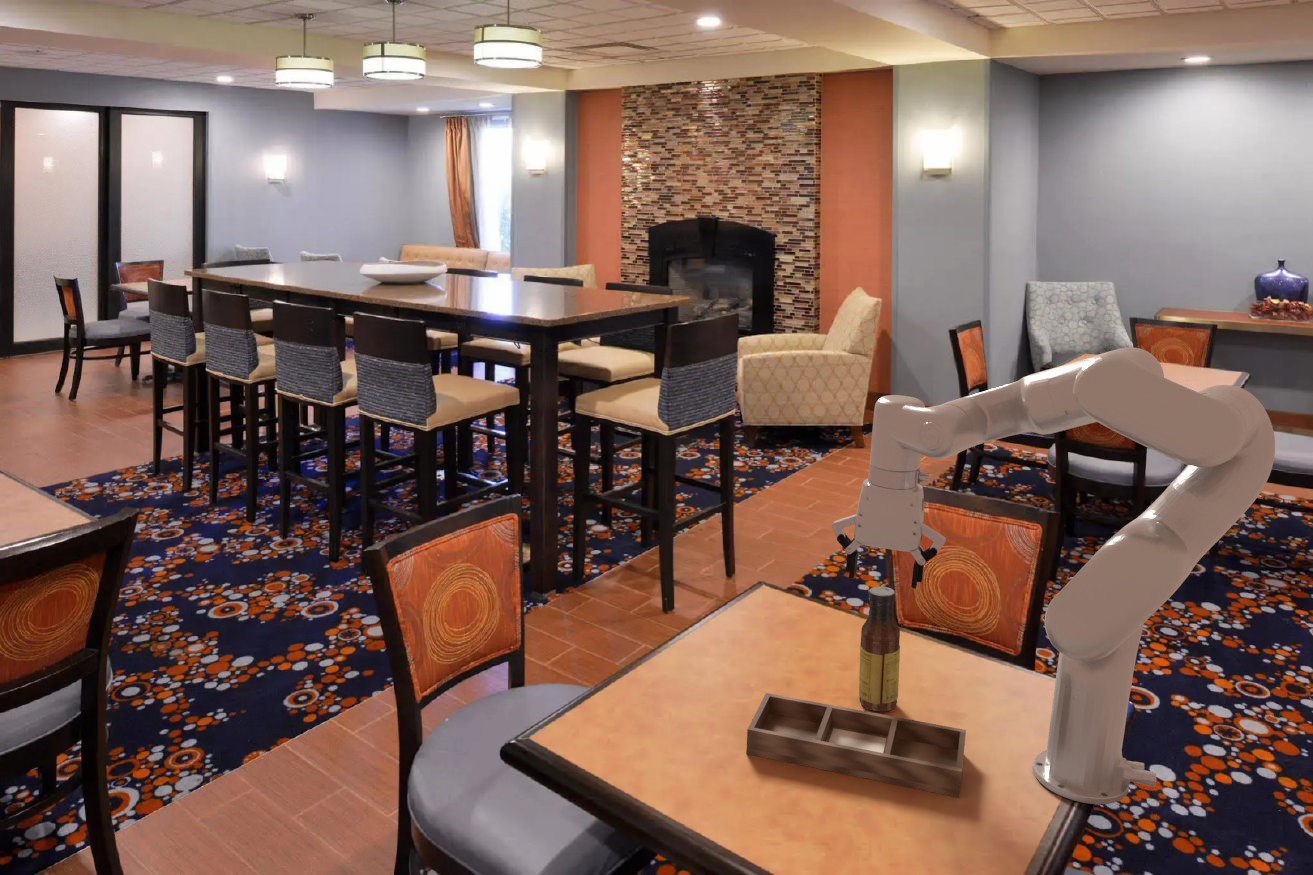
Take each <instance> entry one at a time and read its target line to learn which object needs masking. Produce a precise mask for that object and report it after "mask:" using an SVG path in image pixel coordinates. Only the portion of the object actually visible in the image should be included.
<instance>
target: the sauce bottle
mask: <svg viewBox="0 0 1313 875" xmlns="http://www.w3.org/2000/svg"><path fill="white" fill-rule="evenodd" d="M868 599H869V608H868V609H869V610H868V616H867V618H866V620H865V622H863V625H862V626H861V631H860V632H861V634H860V644H859V669H858V671H859V675H858V676H859V677H858V679H859V680H858V681H859V682H858V695H859V698H858V699H859V702H860V705H861V706H862V707H863V708H865V709H867V711H873V712H876V713H877V712H878V713H887V712H890V711H891V712H892V711H893V710H895V708H896V707H897V705H898V698H899V686H900V684H899V682H900V680H899V679H900V661H901V660H900V659H901V658H900V657H901V656H900V654H901V645H900V641H901V640H900V639H901V629H900V627H899V625H898V623H897V621H896V619H895V617H894V615H895V614H894V605H895V604H894V602H895V601H896V591H895V589H893V588H892V587H887V586H874V587H871V588H870V589H869V591H868Z"/></svg>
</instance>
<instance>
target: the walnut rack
mask: <svg viewBox="0 0 1313 875" xmlns="http://www.w3.org/2000/svg"><path fill="white" fill-rule="evenodd" d="M746 731H747V732H746V755H751V756H756V757H761V758H766V759H769V760H770V759H771V760H776V761H780V762H784V763H788V764H789V763H790V764H795V765H800V766H805V767H808V768H814V769H819V770H824V771H829V772H833V773H837V774H843V775H849V776H853V777H858V778H862V779H867V780H873V781H877V782H881V783H886V784H891V785H896V786H900V787H907V788H910V789H915V790H921V791H926V792H930V793H936V794H941V795H944V796H949V797H954V798H960V795H961V794H960V793H961V785H962V775H963V765H964V764H963V763H964V755H965V745H966V744H965V743H966V736H967V730H966V729H964V728H963V729H962V728H957V727H953V726H946V725H941V724H937V723H932V722H931V723H930V722H927V721H926V722H924V721H919V720H915V719H909V718H904V717H898V716H893V715H887V714H883V713H882V714H881V713H877V712H871V711H866V710H860V709H854V708H849V707H845V706H844V707H843V706H840V705H838V706H837V705H834V704H833V705H832V704H828V703H827V704H826V703H823V702H817V701H811V700H806V699H802V698H801V699H800V698H796V697H795V698H794V697H789V696H785V695H784V696H783V695H778V694H773V693H768V692H765V694H764V696H763V698H762V700H761V702H760V703H759V706H758V708H757V710H756V711H755V713H754V715H753V718H752V720H751V721H750V724H749V725H748V727H747V730H746Z"/></svg>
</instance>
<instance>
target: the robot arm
mask: <svg viewBox="0 0 1313 875" xmlns="http://www.w3.org/2000/svg"><path fill="white" fill-rule="evenodd" d="M872 420H873V421H872V432H871V441H870V442H871V443H870V454H869V455H870V456H869V464H868V475H867V476H868V477H867V478H865V479H864V480H863V482H862V486H861V488H860V494H859V496H858V497H859V498H858V503H857V508H856V513H855V514H852V515H849V516H846V517H843V518H840V519H837V520H834V521H833V523H832V524H831V528H832V530H833V532H834V533H833V534H834V535H835V537H836V540H837V542H838V543H839V545H840V546H841V547H842V548H843V549H844V551H845V553H846V564H845V571H848V578H849V579H855V576H856V575H857V567H858V556H859V550H858V548H860V547H861V546H868V547H872V548H879V549H885V550H886V549H887V550H893V551H899V552H908V553H910V554H911V555H912V557H913V558H914V563H913V569H912V577H911V585H910V586H911V588H912V589H914V590H916V589H917V587H918V586H917V585H918V583H922V582H923V578H924V577H923V575H924V566H925V564H926V563H927V562H929V561H930V560H932V559H933V558H934V557H936V556H937V555H938V553H939V551H940V550H941V548H943V546H944V545H945V543H946V540H947V539H946V537H945V536H944V535H942V534H941V533H939V532H937V531H936V530H934V529H933V528H932V527H930V526H929V525H927V524H925V523H924V515H925V514H924V513H925V498H924V495H925V494H924V487H923V486H922V485H921V484H920V483H923V482H925V483H928V482H929V477H930V476H929V475H930V473H926V472H924V471H922V469H921V458H922V456H925V457H927V458H931V459H934V460H935V459H936V460H942V459H943V460H944V459H947V458H950V457H953V456H955V455H957V454H959V453H961V452H963V451H965V450H967V449H968V450H969V449H970V448H974V447H975V446H977V445H981V444H985V443H988V442H992V441H996V440H1000V439H1003V438H1007V437H1011V436H1015V435H1016V436H1017V435H1021V434H1025V433H1027V434H1028V433H1035V434H1039V435H1051V434H1055V433H1058V432H1063V431H1066V430H1071V429H1075V428H1078V427H1082V426H1086V425H1089V424H1094V423H1099V424H1100V425H1103V426H1104V427H1106V428H1107V429H1110V430H1111V431H1113V432H1114V433H1116V434H1119V435H1121V436H1124V437H1125V438H1127V439H1129V440H1131V441H1134V442H1135V443H1138V444H1140V445H1142V446H1144V447H1145V448H1148V449H1150V450H1152V451H1154V452H1156V453H1158V454H1160V455H1162V456H1165V457H1167V458H1169V459H1172V460H1174V461H1175V462H1178V463H1181V464H1183V465H1186V467H1184V468H1183V469H1182V471H1181V472H1180V473H1179V474H1178V476H1176V477H1175V478H1174V479H1173V481H1172V482H1171V483H1170V484H1169V485H1168V486H1167V488H1166V489H1165V490H1164V491H1163V492H1162V493H1161V494H1160V495H1159V496H1158V497H1157V498H1156V499H1155V501H1154V502H1153V503H1152V504H1150V505H1149V507H1148V508H1146V509H1145V511H1143V512H1142V513H1141V514H1140V515H1138V517H1136V518H1135V519H1133V520H1132V521H1130V522H1129V523H1127V524H1126V525H1124V526H1123V527H1122V528H1121V529H1120V530H1118V531H1117V532H1116V533H1115V534H1113V535H1112V536H1111V538H1109V539H1108V540H1107V541H1105V543H1104V544H1103V545H1102V546H1101V547H1100V548H1099V549H1098V550H1097V551H1096V552H1095V553H1094V555H1092V556H1091V557H1090V559H1089V560H1088V561H1087V562H1086V563H1085V564H1084V565H1083V566H1082V567H1081V568H1080V569H1079V570H1078V572H1077V573H1076V574H1075V575H1074V576H1073V577H1071V579H1070V580H1069V581H1067V583H1066V585H1065V586H1064V587H1062V589H1061V590H1060V591H1059V592H1058V593H1056V595H1055V596H1054V597H1053V598H1052V599H1051V600H1050V602H1049V604H1048V605H1047V608H1046V610H1045V614H1044V628H1045V633H1046V635H1047V637H1048V640H1049V641H1050V643H1051V645H1052V646H1053V647H1054V648H1055V649H1056V650H1057V651H1058V652H1059V654H1058V660H1057V661H1058V662H1057V669H1056V674H1055V675H1056V676H1055V681H1054V682H1055V683H1054V690H1053V698H1052V704H1051V705H1052V706H1051V713H1050V722H1049V729H1048V730H1049V731H1048V738H1047V739H1048V740H1047V747H1046V750H1044V751H1041V752H1039V753H1038V754H1036V756H1035V757H1034V759H1033V764H1032V771H1033V775H1034V776H1035V778H1036V779H1037V780H1038V781H1039V783H1040V784H1042V785H1043V786H1044V787H1045V788H1046V789H1048V791H1049V790H1050V791H1051V792H1053V793H1054V794H1056V795H1058V796H1061V797H1063V798H1066V799H1067V800H1071V801H1074V802H1078V803H1082V804H1089V805H1109V804H1114V803H1117V802H1119V801H1120V802H1121V801H1123V799H1125V798H1126V797H1127V795H1128V793H1129V788H1130V784H1131V783H1137V784H1140V785H1143V786H1150V787H1154V788H1155V787H1156V786H1157V772H1155V771H1150V770H1146V769H1145V763H1144V762H1140V761H1136V760H1135V761H1131V760H1127V758H1126V757H1123V752H1122V749H1123V743H1124V736H1125V731H1126V730H1125V729H1126V724H1127V722H1126V721H1127V716H1128V715H1127V714H1128V709H1129V701H1130V696H1131V695H1130V694H1131V690H1132V686H1133V685H1132V683H1133V679H1134V678H1133V677H1134V670H1135V664H1136V659H1137V654H1138V650H1139V646H1140V641H1141V638H1142V634H1143V630H1144V624H1145V623H1146V622H1147V620H1149V619H1150V618H1151V616H1153V614H1155V613H1156V612H1157V611H1158V610H1159V609H1160V608H1161V607H1162V606H1163V605H1164V604H1165V603H1166V602H1167V601H1168V599H1170V598H1171V597H1172V596H1173V594H1175V592H1176V591H1177V590H1178V589H1179V588H1180V587H1181V586H1182V584H1183V583H1184V582H1185V581H1186V579H1188V577H1189V575H1190V574H1191V573H1192V571H1193V569H1194V568H1195V566H1196V565H1197V564H1198V563H1199V561H1200V560H1201V559H1202V557H1203V556H1204V555H1206V553H1207V552H1208V551H1209V550H1211V548H1212V547H1214V545H1215V544H1216V543H1217V542H1218V541H1220V539H1221V538H1222V537H1224V536H1225V534H1226V533H1227V532H1228V531H1229V530H1230V529H1231V528H1232V527H1233V526H1234V525H1235V524H1236V522H1237V521H1238V520H1239V519H1240V518H1242V516H1243V515H1245V513H1246V511H1248V510H1249V508H1250V507H1251V506H1252V505H1253V503H1254V502H1255V501H1256V499H1257V498H1258V497H1259V496H1260V494H1261V492H1262V491H1263V489H1264V487H1265V485H1266V483H1267V482H1268V479H1269V477H1270V475H1271V472H1272V468H1273V466H1274V460H1275V455H1276V439H1275V432H1274V431H1275V430H1274V428H1273V424H1272V421H1271V419H1270V416H1269V414H1268V413H1267V411H1266V409H1265V406H1263V404H1262V403H1261V401H1260V400H1259V399H1258V398H1257V397H1256V396H1255V395H1253V394H1252V393H1251V392H1249V391H1248V390H1247V389H1244V388H1242V387H1239V386H1236V385H1231V384H1230V385H1228V384H1220V385H1213V386H1209V387H1207V388H1206V387H1205V388H1203V389H1201V390H1199V391H1195V390H1194V389H1191V388H1189V387H1186V386H1184V385H1182V384H1179V383H1177V382H1175V381H1172V380H1170V379H1168V378H1166V377H1165V374H1164V369H1163V367H1162V365H1161V363H1160V362H1159V360H1158V359H1157V358H1156V356H1154V355H1153V354H1152V353H1151V352H1149V351H1147V350H1146V349H1142V348H1138V347H1122V348H1117V349H1113V350H1110V351H1106V352H1102V353H1100V354H1095V355H1091V356H1090V357H1089V356H1088V357H1087V358H1082V359H1080V360H1076V361H1073V362H1069V363H1067V364H1066V363H1065V364H1063V365H1060V366H1059V365H1058V366H1055V367H1053V368H1049V369H1045V370H1042V371H1039V372H1035V373H1031V374H1028V375H1026V376H1023V377H1022V378H1020V379H1019V380H1017V381H1014V382H1011V383H1008V384H1003V385H1002V386H997V387H994V388H990V389H988V390H984V391H981V392H977V393H974V394H971V395H966V396H963V397H960V398H957V399H953V400H949V401H947V402H944V403H942V404H939V405H938V404H937V405H934V406H929V407H926V406H925V403H924V401H922V400H921V399H919V398H917V397H915V396H914V397H913V396H908V395H901V394H891V395H883V396H881V397H880V398H878V399H877V401H876V402H875V404H874V411H873V419H872ZM850 526H854V528H853V530H854V531H853V538H852V539H850V537H849V536H848V535H847V534H846V533H845V531H844V528H848V527H850ZM923 536H924V537H926V538H928V539H929V540H930V541H932V542H933V543H932V545H931V546H929V547H927V548H926V549H925V550H924V548H923V547H922V546H921V544H920V543H921V541H922V537H923Z"/></svg>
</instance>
